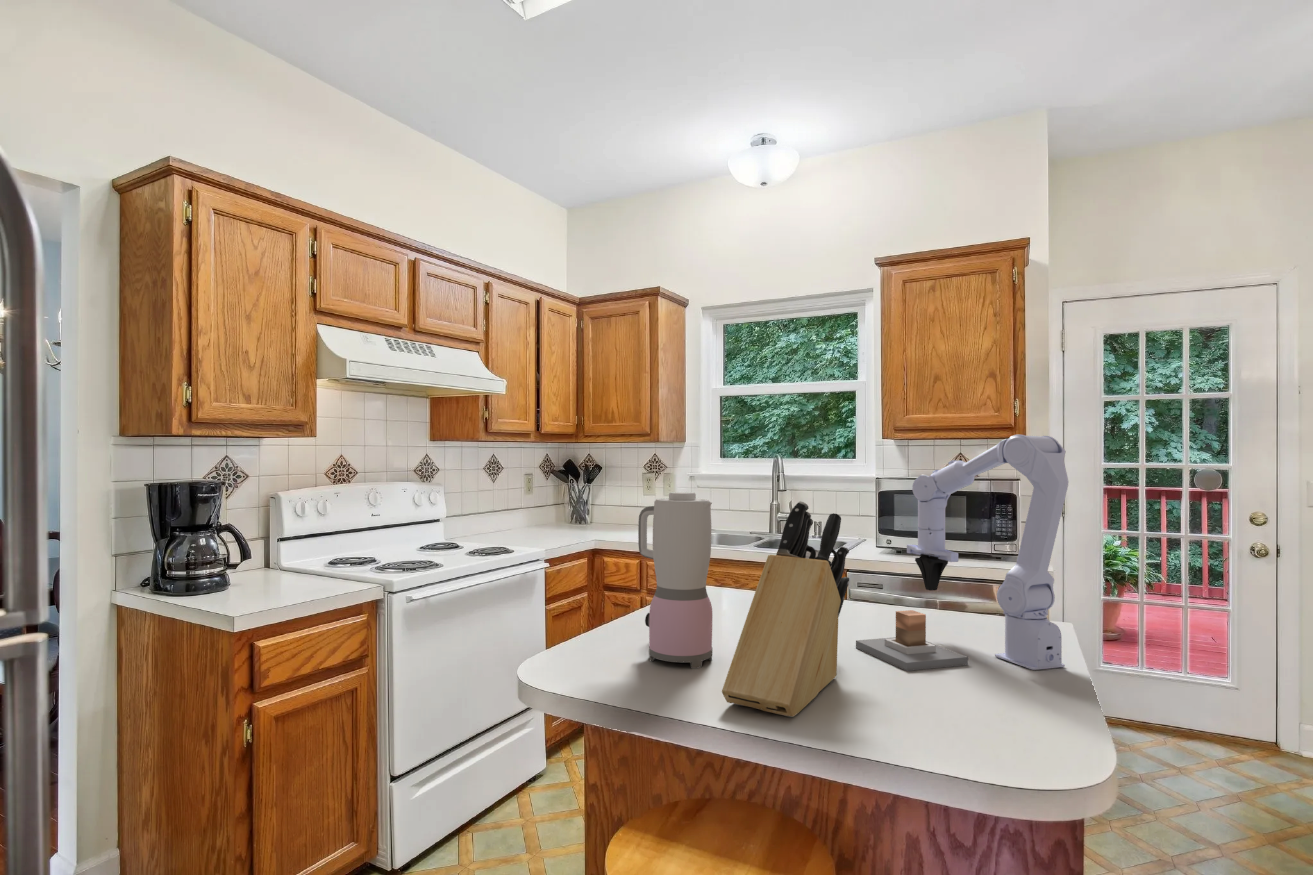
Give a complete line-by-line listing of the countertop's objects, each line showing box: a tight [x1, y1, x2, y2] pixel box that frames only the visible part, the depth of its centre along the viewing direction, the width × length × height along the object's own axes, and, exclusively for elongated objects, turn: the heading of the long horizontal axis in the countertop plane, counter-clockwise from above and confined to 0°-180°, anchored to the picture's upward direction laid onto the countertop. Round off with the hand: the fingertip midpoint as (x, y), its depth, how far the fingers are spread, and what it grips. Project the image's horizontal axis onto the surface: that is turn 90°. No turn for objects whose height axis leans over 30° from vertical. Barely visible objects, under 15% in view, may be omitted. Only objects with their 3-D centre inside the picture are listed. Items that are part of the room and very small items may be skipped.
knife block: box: [721, 500, 850, 717], centre depth 118 cm, size 11×35×31 cm, turn 149°
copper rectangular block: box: [895, 609, 927, 647], centre depth 137 cm, size 4×4×7 cm
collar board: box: [855, 636, 969, 672], centre depth 137 cm, size 16×14×3 cm
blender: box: [637, 491, 713, 669], centre depth 134 cm, size 16×12×32 cm
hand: (931, 589), depth 154 cm, fingers closed
